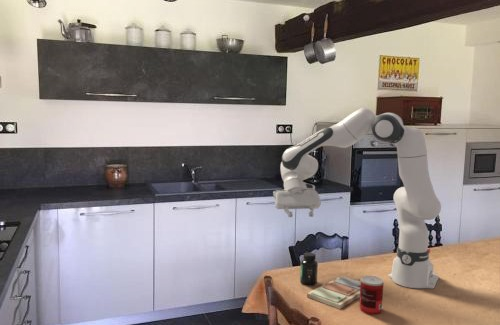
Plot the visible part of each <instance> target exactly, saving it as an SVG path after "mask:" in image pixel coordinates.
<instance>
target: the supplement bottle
mask: <svg viewBox="0 0 500 325" xmlns="http://www.w3.org/2000/svg"><path fill="white" fill-rule="evenodd" d="M316 258H317V256H316V253H313V252H304V253H303V257H302V260H301V262H300V272H299V277H300V278H299V280H300V281H299V282H300V283H301V285H303V286H308V287H312V286H315V285H316V286H317V284H318V273H319V272H318V271H319V270H318V268H319V264H318V263H319V262H318V261H317V260H316Z"/></svg>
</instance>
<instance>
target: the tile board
mask: <svg viewBox="0 0 500 325" xmlns="http://www.w3.org/2000/svg"><path fill="white" fill-rule="evenodd" d="M360 285H361V281H359V280H356V279H351V278H348V277H345V276H338V277H336V278H334V279H331V281H329V282H327V283H325V284H323V285H320V286H318V287H317V288H314V289H312V290H310V291H309V292H307V293H306V298H309V299H312V300H314V301H316V302H319V303H322V304H326V305H328V306H330V307H333V308H336V309H338V310H341V309H342V308H344V307H345V306H347V305H348V304H351V303H352V302H353V301H355V300H357V299H360Z"/></svg>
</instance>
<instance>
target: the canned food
mask: <svg viewBox="0 0 500 325" xmlns="http://www.w3.org/2000/svg"><path fill="white" fill-rule="evenodd" d="M360 282H361V285H360V297H359V309H360V311H361V312H363V313H365V314H367V315H379V314H381V312H382V309H383V295H384V294H383V293H384V280H383V279H382V278H381V277H378V276H375V275H364V276H361V278H360Z"/></svg>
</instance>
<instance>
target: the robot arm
mask: <svg viewBox="0 0 500 325" xmlns="http://www.w3.org/2000/svg"><path fill="white" fill-rule="evenodd" d="M369 134H372V136H374V137H375V138H376V139H377V140H378V141H381V142H384V143H388V144H389V143H390V144H395V146H396V151H397V152H396V153H397V163H398V165H397V166H398V175H399V178H400V180H401V181H402V183H403V184H402V185H403V186H401V187H399V188H397V189H396V190H395V191H394V193H393V198H392V199H393V203H394V205H395V207H396V213H397V220H398V227H399V230H398V231H399V236H398V246H397V249H396V256H395V257H394V258H393V262H392V269H391V272H390V273H388V274H387V275H388V277H389V278H390V279H391V280H392V281H393V282H394V283H395V284H397V285H399V286H401V287H404V288H405V287H406V288H410V289H435V287H436V285H437V283H438V280H439V278H440V277H439V275H438V274H437V273H435V272H434V264H433V262H431V260H430V259H429V258H430V257H429V256H430V255H429V254H430V253H431V248H428V245H429V244H428V243H429V229H428V227H427V225H426V221H430V220H434V219H435V218H437V217H438V216H439V215H440V213H441V212H442V211H441V210H442V205H441V202H440V200H439V198H438V197H437V195H436V193H435V191H434V190H435V189H434V187H433V184H432V181H431V177H430V172H429V164H428V153H427V152H428V151H427V144H426V140H425V137H424V136H425V135H424V133H423V131H422V130H421V129H419V128H417V127H413V126H412V127H407V126H405V123H404V120H403V118H402V116H400V115H399V114H398V113H396V112H384V113H379V114H375V113H374V112H373V111H372V110H371V109H370V108H366V107H360V108H359V109H357V110H355V111H353V112H351V113H350V114H348V115H347V116H345V117H344V118H343V119H342V120H340V121H339V122H337V123H335V124H333V125H331V126H329V127H323V128H321V129H320V130H318V131H316V132H315V133H313V134H312V135H309V137H306V138H305V139H303V140H302V141H300V142H299V143H297V144H294V145H292V146H289V147H288V148H286V149H285V150H284V151H283V153H282V155H281V162H280V168H279V169H280V175H281V179H282V182H283V189H275V190H274V191H273V192H272V196H273V198H274V206H275V207H274V208H276V210H284V211H283V212H285V213H286V215H287V216H288V218H293V215H294V214H293V211H290V210H305V209H306V210H307V209H308V210H310V211H309V212H308V217H309V218H312V217H314V210H315V209H319V208H320V207H321V205H322V204H321V203H322V200H321V198H320V195H319V193H318V191H317V190H316V186H315V185H314V184H311V183H307V182H305V180H308V179H309V178H311V177H313V176H315V175H316V174H317V172H318V170H319V161H318V159H316V158H315V157H313V156H311V155H310V153H312V152H314V151H315V150H317V149H319V148H321V147H326V146H328V147H330V146H331V147H336V148H343V149H344V148H345V149H346V148H349V147H351V146H353V145H355V144H356V143H358V142H359V141H360V140H362V139H363V138H365V136H367V135H369Z"/></svg>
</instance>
